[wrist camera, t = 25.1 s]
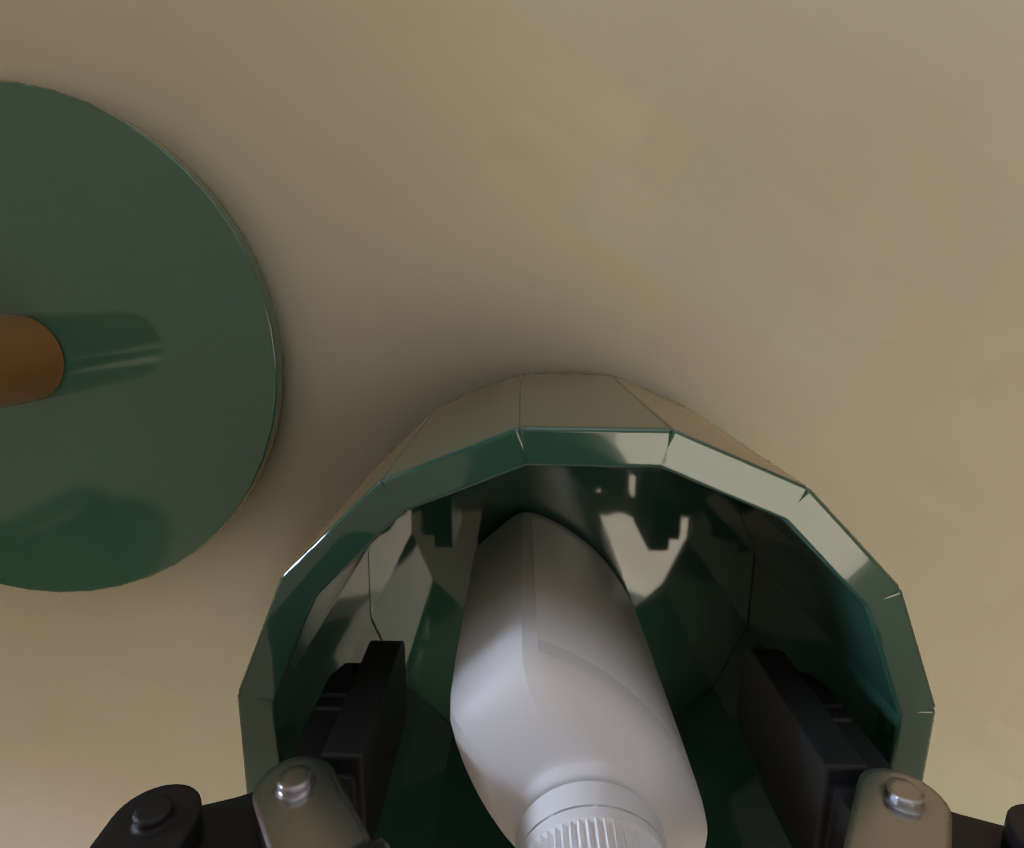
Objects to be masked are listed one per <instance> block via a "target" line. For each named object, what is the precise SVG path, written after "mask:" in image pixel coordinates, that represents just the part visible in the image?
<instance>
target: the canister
mask: <svg viewBox="0 0 1024 848" xmlns="http://www.w3.org/2000/svg"><path fill="white" fill-rule="evenodd" d="M522 512H533V513H536V514H539V515H542V516H544V517H546V518H548V519H550V520H553V521H555V522H556V523H558V524H560V525H562V526H564V527H565V528H567V529H568V530H570V531H571V532H573V533H574V534H576V535H577V536H578V537H580V538H581V539H582V540H584V541H585V542H586V543H587V544H589V545H590V546H591V547H592V548H593V549H594V550H595V551H596V552H597V553H598V554H599V555H600V556H601V557H602V558H603V559H604V561H605V562H606V563H607V564H608V565H609V566H610V568H611V569H612V570H613V572H614V573H615V575H616V576H617V578H618V579H619V581H620V582H621V584H622V585H623V587H624V589H625V591H626V592H627V594H628V596H629V598H630V600H631V602H632V605H633V607H634V609H635V612H636V614H637V617H638V620H639V622H640V625H641V628H642V631H643V633H644V636H645V639H646V642H647V644H648V647H649V650H650V653H651V656H652V658H653V661H654V664H655V667H656V669H657V672H658V675H659V678H660V681H661V683H662V686H663V689H664V692H665V695H666V697H667V700H668V703H669V706H670V709H671V711H672V714H673V717H674V720H675V723H676V725H677V728H678V731H679V734H680V737H681V739H682V742H683V745H684V748H685V751H686V754H687V757H688V760H689V763H690V766H691V769H692V771H693V774H694V777H695V780H696V783H697V786H698V789H699V792H700V796H701V799H702V803H703V807H704V811H705V816H706V822H707V840H706V846H705V848H796V846H795V844H794V842H793V840H792V838H791V836H790V834H789V832H788V830H787V828H786V826H785V824H784V822H783V820H782V818H781V816H780V814H779V812H778V810H777V808H776V806H775V804H774V802H773V800H772V798H771V796H770V793H769V791H768V789H767V787H766V785H765V783H764V781H763V779H762V777H761V775H760V773H759V771H758V769H757V767H756V765H755V763H754V761H753V759H752V757H751V755H750V753H749V751H748V749H747V747H746V745H745V743H744V741H743V739H742V737H741V734H740V730H739V726H738V719H737V703H738V694H739V684H740V675H741V665H742V657H743V653H744V650H745V649H746V648H770V649H781V650H783V651H784V653H785V654H786V655H787V657H788V658H789V659H790V661H791V662H792V663H793V665H794V666H795V668H796V669H797V670H798V672H808V673H809V674H811V675H812V676H814V677H815V678H816V679H818V680H819V681H820V682H822V683H823V684H825V685H826V686H827V687H829V688H830V689H831V691H832V692H833V693H834V695H835V696H836V697H837V698H838V700H839V701H840V702H841V704H842V705H843V708H845V709H846V710H847V711H848V713H849V714H850V715H851V716H852V718H853V719H854V723H857V724H858V725H859V727H860V728H861V729H862V730H863V732H864V733H865V734H866V736H867V737H868V738H869V739H870V741H871V742H872V743H873V745H874V746H875V747H876V748H877V750H878V751H879V752H880V753H881V755H882V756H883V757H884V759H885V760H886V761H887V762H888V764H889V765H890V766H891V768H892V769H893V770H897V771H900V772H903V773H906V774H908V775H910V776H912V777H915V778H916V779H918V780H920V781H922V782H923V776H924V771H925V765H926V760H927V754H928V749H929V743H930V738H931V732H932V726H933V721H934V715H935V710H934V708H935V704H934V700H933V697H932V694H931V690H930V687H929V683H928V680H927V676H926V673H925V670H924V666H923V663H922V659H921V656H920V652H919V649H918V646H917V642H916V639H915V635H914V632H913V628H912V625H911V622H910V618H909V615H908V611H907V608H906V604H905V601H904V598H903V594H902V591H901V590H900V589H899V587H898V584H897V583H896V582H895V581H894V580H893V578H892V577H891V576H890V575H889V574H888V573H887V572H886V571H885V570H884V569H883V568H882V566H881V565H880V564H879V563H878V562H877V561H876V560H875V559H874V558H873V557H872V556H871V554H870V553H869V552H868V551H867V550H866V549H865V548H864V547H863V546H862V545H861V544H860V542H859V541H858V540H857V539H856V538H855V537H854V536H853V535H852V534H851V533H850V532H849V530H848V529H847V528H846V527H845V526H844V525H843V524H842V523H841V522H840V521H839V520H838V518H837V517H836V516H835V515H834V514H833V513H832V512H831V511H830V510H829V509H828V507H827V506H826V505H825V504H824V503H823V502H822V501H821V500H820V499H819V498H818V497H817V495H816V494H815V493H814V492H813V491H812V490H811V489H809V488H808V487H806V486H805V485H804V484H802V483H801V482H799V481H798V480H796V479H795V478H793V477H792V476H790V475H789V474H787V473H786V472H784V471H783V470H781V469H780V468H778V467H777V466H775V465H774V464H772V463H771V462H769V461H768V460H766V459H765V458H763V457H762V456H760V455H759V454H757V453H756V452H754V451H753V450H751V449H750V448H748V447H747V446H745V445H744V444H742V443H741V442H739V441H738V440H736V439H735V438H733V437H732V436H730V435H729V434H727V433H726V432H724V431H723V430H721V429H720V428H718V427H717V426H715V425H714V424H712V423H711V422H709V421H708V420H706V419H705V418H703V417H702V416H700V415H699V414H697V413H696V412H694V411H693V410H690V409H688V408H686V407H683V406H681V405H679V404H676V403H674V402H672V401H669V400H667V399H665V398H663V397H661V396H659V395H657V394H655V393H653V392H651V391H649V390H646V389H643V388H640V387H637V386H635V385H633V384H630V383H628V382H626V381H623V380H621V379H619V378H616V377H611V376H596V375H586V374H573V373H552V374H535V375H521V377H520V376H515V377H513V378H510V379H507V380H504V381H501V382H498V383H495V384H492V385H488V386H485V387H482V388H479V389H477V390H475V391H473V392H471V393H469V394H466V395H464V396H462V397H460V398H458V399H456V400H454V401H452V402H449V403H447V404H444V405H442V406H439V407H438V408H437V409H434V410H433V411H432V412H431V413H430V414H429V415H428V416H427V417H426V418H425V419H424V420H423V421H422V422H421V423H420V424H419V425H418V426H417V427H416V428H415V429H414V430H413V431H411V432H410V433H409V434H408V435H407V436H406V437H405V438H404V440H403V441H402V442H401V443H400V444H399V445H398V446H397V447H395V448H394V449H393V450H392V451H391V452H390V453H389V454H388V455H387V456H386V457H385V458H384V459H383V460H382V461H381V462H380V463H379V464H378V465H377V466H376V467H375V468H374V470H373V471H372V472H371V473H370V474H369V475H368V477H367V478H366V479H365V480H364V481H363V482H362V483H361V485H360V486H359V487H358V488H357V489H356V490H355V492H354V493H353V494H352V495H351V496H350V497H349V499H348V500H347V501H346V502H345V503H344V504H343V506H342V507H341V508H340V509H339V510H338V511H337V513H336V514H335V515H334V516H333V517H332V518H331V520H330V521H329V522H328V523H327V524H326V525H325V526H324V528H323V529H322V530H321V531H320V532H319V533H318V535H317V536H316V537H315V538H314V539H313V540H312V542H311V543H310V544H309V545H308V546H307V547H306V549H305V550H304V551H303V552H302V553H301V554H300V556H299V557H298V558H297V559H296V560H295V561H294V563H293V564H292V565H291V566H290V567H289V568H288V569H287V571H286V572H285V573H284V575H283V577H282V578H281V579H280V582H279V584H278V587H277V590H276V592H275V595H274V598H273V600H272V603H271V606H270V608H269V611H268V614H267V616H266V619H265V622H264V624H263V627H262V630H261V632H260V635H259V638H258V640H257V643H256V646H255V648H254V651H253V654H252V656H251V659H250V662H249V664H248V667H247V670H246V672H245V675H244V678H243V680H242V683H241V686H240V688H239V694H238V702H239V713H240V724H241V734H242V745H243V756H244V766H245V777H246V787H247V794H248V793H251V792H253V791H254V788H255V786H256V784H257V782H258V781H259V780H260V778H261V777H262V776H263V775H264V774H265V773H266V772H267V771H268V770H270V769H271V768H272V767H274V766H275V765H277V764H279V763H281V762H283V761H285V760H288V759H289V757H290V755H291V752H292V750H293V748H294V746H295V744H296V742H297V740H298V738H299V736H300V734H301V732H302V730H303V728H304V726H305V724H306V722H307V720H308V718H309V716H310V714H311V712H312V711H314V706H315V704H316V702H317V700H318V698H319V697H321V692H322V690H323V688H324V686H325V684H326V682H327V680H328V678H329V677H330V676H331V675H332V674H333V673H334V672H336V671H337V670H338V669H339V668H340V667H341V666H342V665H344V664H345V663H361V661H362V659H363V657H364V654H365V652H366V650H367V647H368V645H369V643H370V641H371V640H385V641H403V642H404V645H405V664H406V697H407V705H406V718H405V725H404V730H403V734H402V738H401V742H400V745H399V749H398V753H397V757H396V760H395V764H394V768H393V772H392V775H391V779H390V783H389V786H388V790H387V794H386V798H385V801H384V805H383V809H382V813H381V816H380V820H379V824H378V828H377V831H376V835H375V839H374V840H376V839H378V838H380V837H382V838H383V839H385V840H386V842H387V843H388V845H389V846H390V848H515V847H514V846H513V844H512V843H511V842H510V841H509V840H508V838H507V837H506V836H505V835H504V834H503V832H502V831H501V829H500V828H499V827H498V825H497V824H496V822H495V821H494V819H493V818H492V817H491V815H490V814H489V812H488V810H487V809H486V807H485V805H484V803H483V802H482V800H481V798H480V797H479V795H478V793H477V791H476V789H475V787H474V785H473V783H472V781H471V779H470V777H469V775H468V772H467V770H466V768H465V765H464V763H463V760H462V758H461V755H460V752H459V749H458V747H457V744H456V741H455V737H454V733H453V729H452V725H451V721H450V700H451V688H452V681H453V674H454V667H455V660H456V654H457V648H458V643H459V637H460V631H461V625H462V620H463V614H464V608H465V603H466V597H467V592H468V586H469V581H470V575H471V570H472V565H473V559H474V554H475V551H476V550H477V548H478V547H479V545H480V544H481V543H482V542H483V541H484V540H485V539H486V538H487V537H489V536H490V535H491V534H492V533H493V532H495V531H496V530H497V529H498V528H499V527H501V526H502V525H503V524H504V523H505V522H507V521H508V520H509V519H511V518H512V517H513V516H515V515H517V514H519V513H522Z"/></svg>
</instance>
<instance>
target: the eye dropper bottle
mask: <svg viewBox="0 0 1024 848" xmlns="http://www.w3.org/2000/svg"><path fill="white" fill-rule="evenodd" d="M450 721H451V725H452V729H453V733H454V737H455V741H456V744H457V747H458V749H459V752H460V755H461V758H462V760H463V763H464V765H465V768H466V770H467V772H468V775H469V777H470V779H471V781H472V783H473V785H474V787H475V789H476V791H477V793H478V795H479V797H480V798H481V800H482V802H483V803H484V805H485V807H486V809H487V810H488V812H489V814H490V815H491V817H492V818H493V819H494V821H495V822H496V824H497V825H498V827H499V828H500V829H501V831H502V832H503V834H504V835H505V836H506V837H507V838H508V840H509V841H510V842H511V843H512V844H513V846H514V847H515V848H705V846H706V840H707V822H706V816H705V811H704V807H703V803H702V799H701V796H700V792H699V789H698V786H697V783H696V780H695V777H694V774H693V771H692V769H691V766H690V763H689V760H688V757H687V754H686V751H685V748H684V745H683V742H682V739H681V737H680V734H679V731H678V728H677V725H676V723H675V720H674V717H673V714H672V711H671V709H670V706H669V703H668V700H667V697H666V695H665V692H664V689H663V686H662V683H661V681H660V678H659V675H658V672H657V669H656V667H655V664H654V661H653V658H652V656H651V653H650V650H649V647H648V644H647V642H646V639H645V636H644V633H643V631H642V628H641V625H640V622H639V620H638V617H637V614H636V612H635V609H634V607H633V605H632V602H631V600H630V598H629V596H628V594H627V592H626V591H625V589H624V587H623V585H622V584H621V582H620V581H619V579H618V578H617V576H616V575H615V573H614V572H613V570H612V569H611V568H610V566H609V565H608V564H607V563H606V562H605V561H604V559H603V558H602V557H601V556H600V555H599V554H598V553H597V552H596V551H595V550H594V549H593V548H592V547H591V546H590V545H589V544H587V543H586V542H585V541H584V540H582V539H581V538H580V537H578V536H577V535H576V534H574V533H573V532H571V531H570V530H568V529H567V528H565V527H564V526H562V525H560V524H558V523H556V522H555V521H553V520H550V519H548V518H546V517H544V516H542V515H539V514H536V513H533V512H522V513H519V514H517V515H515V516H513V517H512V518H511V519H509V520H508V521H507V522H505V523H504V524H503V525H502V526H501V527H499V528H498V529H497V530H496V531H495V532H493V533H492V534H491V535H490V536H489V537H487V538H486V539H485V540H484V541H483V542H482V543H481V544H480V545H479V547H478V548H477V550H476V551H475V554H474V559H473V565H472V570H471V575H470V581H469V586H468V592H467V597H466V603H465V608H464V614H463V620H462V625H461V631H460V637H459V643H458V648H457V654H456V660H455V667H454V674H453V681H452V688H451V700H450Z"/></svg>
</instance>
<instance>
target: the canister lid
mask: <svg viewBox="0 0 1024 848" xmlns="http://www.w3.org/2000/svg"><path fill="white" fill-rule="evenodd" d="M282 395H283V358H282V351H281V343H280V336H279V328H278V324H277V320H276V316H275V313H274V309H273V305H272V301H271V297H270V294H269V291H268V289H267V286H266V284H265V281H264V279H263V276H262V274H261V271H260V269H259V266H258V264H257V261H256V259H255V257H254V256H253V254H252V252H251V250H250V248H249V246H248V245H247V243H246V241H245V239H244V237H243V235H242V234H241V232H240V230H239V228H238V227H237V225H236V224H235V223H234V221H233V220H232V218H231V217H230V216H229V214H228V213H227V211H226V210H225V209H224V207H223V206H222V204H221V203H220V201H219V200H218V199H217V198H216V197H215V195H214V194H213V193H212V192H211V191H210V190H209V189H208V188H207V187H206V185H205V184H204V183H203V182H202V181H201V180H200V179H199V178H198V177H197V175H196V174H195V173H194V172H193V171H192V170H191V169H190V168H188V167H187V166H186V165H185V164H184V163H183V162H182V161H180V160H179V159H178V158H177V157H176V156H175V155H174V154H172V153H171V152H170V151H169V150H168V149H167V148H166V147H164V146H163V145H162V144H160V143H159V142H157V141H156V140H154V139H153V138H151V137H150V136H148V135H147V134H145V133H144V132H143V131H141V130H140V129H138V128H137V127H135V126H134V125H132V124H130V123H128V122H126V121H124V120H122V119H120V118H118V117H117V116H115V115H113V114H111V113H109V112H107V111H105V110H103V109H101V108H99V107H97V106H95V105H92V104H90V103H88V102H85V101H82V100H79V99H77V98H74V97H71V96H68V95H66V94H63V93H60V92H57V91H55V90H51V89H46V88H42V87H37V86H33V85H28V84H24V83H19V82H10V81H0V584H3V585H8V586H13V587H18V588H23V589H28V590H39V591H51V592H76V591H93V590H99V589H105V588H110V587H116V586H121V585H125V584H128V583H131V582H134V581H137V580H141V579H144V578H147V577H149V576H152V575H154V574H156V573H158V572H160V571H162V570H164V569H167V568H169V567H171V566H173V565H175V564H176V563H178V562H179V561H181V560H182V559H184V558H185V557H187V556H189V555H190V554H192V553H193V552H195V551H196V550H198V549H199V548H200V547H202V546H203V545H204V544H205V543H206V542H208V541H209V540H210V539H211V538H212V537H213V536H214V535H216V534H217V533H218V532H219V531H220V530H221V529H222V528H223V527H225V526H226V524H227V523H228V522H229V521H230V520H231V519H232V517H233V516H234V515H235V514H236V513H237V511H238V510H239V509H240V508H241V507H242V506H243V504H244V503H245V501H246V500H247V498H248V496H249V495H250V493H251V492H252V490H253V488H254V487H255V485H256V484H257V482H258V480H259V478H260V476H261V474H262V471H263V469H264V467H265V465H266V462H267V460H268V458H269V455H270V453H271V450H272V446H273V442H274V439H275V435H276V432H277V428H278V424H279V418H280V410H281V403H282Z"/></svg>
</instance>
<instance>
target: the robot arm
mask: <svg viewBox="0 0 1024 848" xmlns="http://www.w3.org/2000/svg"><path fill="white" fill-rule="evenodd" d="M406 705H407V697H406V664H405V645H404V642H403V641H385V640H371V641H370V643H369V645H368V647H367V650H366V652H365V654H364V657H363V659H362V661H361V663H345V664H344V665H342V666H341V667H340V668H339V669H338V670H337V671H336V672H334V673H333V674H332V675H331V676H330V677H329V678H328V680H327V682H326V684H325V686H324V688H323V690H322V692H321V697H319V698H318V700H317V702H316V704H315V706H314V711H312V712H311V714H310V716H309V718H308V720H307V722H306V724H305V726H304V728H303V730H302V732H301V734H300V736H299V738H298V740H297V742H296V744H295V746H294V748H293V750H292V752H291V755H290V757H289V759H288V760H285V761H283V762H281V763H279V764H277V765H275V766H274V767H272V768H271V769H270V770H268V771H267V772H266V773H265V774H264V775H263V776H262V777H261V778H260V780H259V781H258V782H257V784H256V786H255V788H254V791H253V792H251V793H248V794H246V795H243V796H240V797H236V798H232V799H228V800H224V801H219V802H215V803H211V804H207V805H203V806H202V803H201V798H200V795H199V793H198V792H197V791H196V790H195V789H194V788H192V787H190V786H187V785H181V784H172V785H165V786H160V787H157V788H154V789H151V790H149V791H146V792H144V793H142V794H140V795H138V796H137V797H135V798H133V799H132V800H130V801H129V802H128V803H126V804H125V805H124V806H123V807H121V808H120V809H119V810H118V811H117V812H116V813H115V815H114V816H113V817H112V818H111V820H110V821H109V822H108V824H107V825H106V826H105V828H104V829H103V830H102V832H101V833H100V834H99V836H98V837H97V839H96V840H95V841H94V843H93V844H92V845H91V847H90V848H390V846H389V845H388V843H387V842H386V840H385V839H383V838H382V837H380V838H378V839H376V840H374V839H375V835H376V831H377V828H378V824H379V820H380V816H381V813H382V809H383V805H384V801H385V798H386V794H387V790H388V786H389V783H390V779H391V775H392V772H393V768H394V764H395V760H396V757H397V753H398V749H399V745H400V742H401V738H402V734H403V730H404V725H405V718H406ZM737 719H738V726H739V730H740V734H741V737H742V739H743V741H744V743H745V745H746V747H747V749H748V751H749V753H750V755H751V757H752V759H753V761H754V763H755V765H756V767H757V769H758V771H759V773H760V775H761V777H762V779H763V781H764V783H765V785H766V787H767V789H768V791H769V793H770V796H771V798H772V800H773V802H774V804H775V806H776V808H777V810H778V812H779V814H780V816H781V818H782V820H783V822H784V824H785V826H786V828H787V830H788V832H789V834H790V836H791V838H792V840H793V842H794V844H795V846H796V848H1024V804H1019V805H1015V806H1013V807H1011V808H1010V809H1009V810H1008V812H1007V815H1006V819H1005V824H1004V826H1002V825H998V824H994V823H990V822H987V821H983V820H979V819H975V818H971V817H967V816H964V815H960V814H957V813H954V812H951V811H950V809H949V807H948V805H947V804H946V802H945V801H944V800H943V798H942V797H941V796H940V795H939V794H938V793H937V792H936V791H934V790H933V789H932V788H931V787H929V786H928V785H926V784H925V783H923V782H922V781H920V780H918V779H916V778H915V777H912V776H910V775H908V774H906V773H903V772H900V771H897V770H893V769H892V768H891V766H890V765H889V764H888V762H887V761H886V760H885V759H884V757H883V756H882V755H881V753H880V752H879V751H878V750H877V748H876V747H875V746H874V745H873V743H872V742H871V741H870V739H869V738H868V737H867V736H866V734H865V733H864V732H863V730H862V729H861V728H860V727H859V725H858V724H857V723H854V719H853V718H852V716H851V715H850V714H849V713H848V711H847V710H846V709H845V708H843V705H842V704H841V702H840V701H839V700H838V698H837V697H836V696H835V695H834V693H833V692H832V691H831V689H830V688H829V687H827V686H826V685H825V684H823V683H822V682H820V681H819V680H818V679H816V678H815V677H814V676H812V675H811V674H809V673H808V672H798V670H797V669H796V668H795V666H794V665H793V663H792V662H791V661H790V659H789V658H788V657H787V655H786V654H785V653H784V651H783V650H781V649H770V648H746V649H745V650H744V653H743V657H742V665H741V675H740V684H739V694H738V703H737Z"/></svg>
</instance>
